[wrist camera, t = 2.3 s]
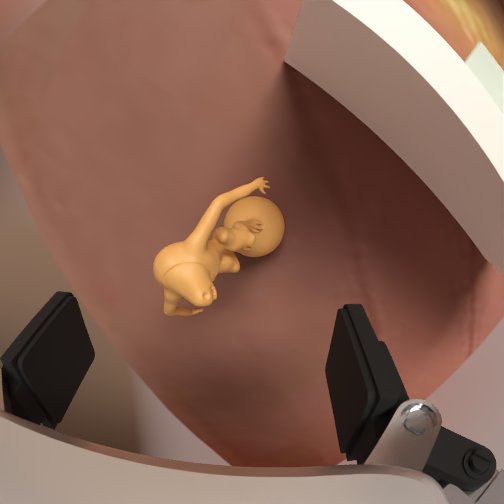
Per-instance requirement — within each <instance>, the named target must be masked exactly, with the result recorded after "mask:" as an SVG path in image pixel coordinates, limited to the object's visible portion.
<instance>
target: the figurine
mask: <svg viewBox="0 0 504 504" xmlns="http://www.w3.org/2000/svg"><path fill="white" fill-rule="evenodd" d="M264 178H265V177H261V178H257V179H256V180H254V181H253V182H252V183H250V184H247V185H243V186H241V187H238V188H236V189H234V190H232V191H230V192H227V193H223V194H221V195H219V196H218V197H216V198H215V199H214V200H213V202H212V203H211V204H210V206H209V207H208V209H207V210H206V212H205V213H204V215H203V217H202V218H201V220H200V221H199V223H198V225H197V227H196V228H195V230H194V231H193V232H192V233H191V234H190V236H189V237H188V238H187V239H186V240H185V241H182V242H177V243H173V244H170V245H168V246H166V247H165V248H163V249H162V250H161V251H160V252H159V253H158V255H157V256H156V258H155V260H154V265H153V271H154V276H155V278H156V280H157V281H158V282H159V283H160V284H161V285H162V286H163V287H164V295H165V301H164V312H165V314H166V315H169V316H173V315H180V316H190V315H194V314H196V313H199V312H201V311H203V310H204V309H196V308H194V309H192V310H189V309H187V308H184V307H177V305H178V302H179V300H180V299H182V298H185V299H187V300H188V301H189V302H190V303H192V304H193V305H195V306H200V307H206V306H209V305H211V304H212V301H214V300H215V299H216V298H217V292H216V289H215V287H214V285H213V282H214V280H215V278H216V276H217V274H218V273H227V272H232V273H236V272H238V271H239V269H240V264H239V261H238V259H237V258H236V256H235V254H234V252H236V251H237V252H238V253H240V254H242V255H245V256H249V257H260V256H264V255H266V254H268V253H270V252H272V251H273V250H274V249H275V248H276V247H277V246H278V245H279V243H280V242H281V240H282V238H283V235H284V229H285V224H284V218H283V215H282V213H281V211H280V210H279V208H278V207H277V206H276V205H275V204H274V203H273V202H271V201H270V200H268V199H266V198H263V197H259V196H249V197H246V196H248V195H249V194H251V193H252V192H253V191H255V190H256V189H258V190H260V192H262V193H263V194H266V192H265V191H264V190H263V188H270V187H269V186H266V185H265V183H269V182H268V181H264V180H263V179H264ZM244 197H245V198H244ZM239 199H240V200H239ZM237 200H238V201H237ZM235 201H237V202H235ZM233 202H235V203H234V204H233V205H232V206H231V207H230V209H229V210H228V212H227V214H226V216H225V219H224V227H219V228H217V229H216V230H215V232H214V234H213V239H212V240H210V241H208V239H209V237H210V235H211V233H212V231H213V229H214V228H215V226H216V223H217V221H218V219H219V217H220V215H221V213H222V210H223V209H224V208H225V207H227V206H229V205H230V204H232V203H233ZM207 241H208V242H207ZM195 309H196V310H195Z"/></svg>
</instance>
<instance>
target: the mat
mask: <svg viewBox="0 0 504 504" xmlns="http://www.w3.org/2000/svg"><path fill="white" fill-rule="evenodd" d="M464 62H465V64H466V65H467V66H468V67H469V69H470V70H471V71H472V72H473V73H474V75H475V76H476V77H477V79H478V80H479V81H480V82H481V84H482V85H483V86H484V88H485V89H486V90H487V92H488V93H489V95H490V96H491V97H492V99H493V100H494V102H495V103H496V105H497V106H498V107H499V109H500V110H501V112H502V113H503V115H504V71H503V70H502V68H501V67H500V66H499V64H498V63H497V62H496V60H495V59H494V58H493V56H492V55H491V54H490V52H489V51H488V50H487V48H486V47H485V46H484V45H483V43H482V42H481V41H479V42H477V44H476V45H475V47H474V48H473V50H472V51H471V53H470V54H469V55H468V57H467V58H466V60H465V61H464Z"/></svg>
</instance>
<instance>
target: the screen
mask: <svg viewBox="0 0 504 504" xmlns="http://www.w3.org/2000/svg"><path fill="white" fill-rule="evenodd" d="M284 61H285V62H286V63H288V64H289V65H290V66H292V67H293V68H295V69H296V70H298V71H299V72H300V73H302V74H303V75H304V76H306V77H307V78H309V79H310V80H311V81H313V82H314V83H315V84H317V85H318V86H319V87H321V88H322V89H323V90H324V91H326V92H327V93H328V94H330V95H331V96H332V97H333V98H335V99H336V100H337V101H338V102H339V103H341V104H342V105H343V106H344V107H346V108H347V109H348V110H349V111H350V112H351V113H353V114H354V115H355V116H356V117H357V118H358V119H360V120H361V121H362V122H363V123H364V124H365V125H366V126H368V127H369V128H370V129H371V130H372V131H373V132H374V133H375V134H376V135H377V136H378V137H380V138H381V139H382V140H383V141H384V142H385V143H386V144H387V145H388V146H389V147H390V148H391V149H392V150H393V151H394V152H395V153H396V154H397V155H398V156H399V157H400V158H401V159H402V160H403V161H404V162H405V163H406V164H407V165H408V166H409V167H410V168H411V169H412V170H413V171H414V172H415V173H416V174H417V175H418V177H419V178H420V179H421V180H422V181H423V182H424V183H425V184H426V185H427V186H428V187H429V189H430V190H431V191H432V192H433V193H434V194H435V195H436V197H437V198H438V199H439V200H440V201H441V202H442V204H443V205H444V206H445V207H446V208H447V209H448V211H449V212H450V213H451V214H452V216H453V217H454V218H455V219H456V221H457V222H458V223H459V224H460V226H461V227H462V228H463V229H464V231H465V232H466V233H467V235H468V236H469V237H470V239H471V240H472V241H473V243H474V244H475V245H476V247H477V248H478V250H479V251H480V252H481V254H482V255H483V257H484V258H485V259H486V260H487V261H488V262H489V263H491V264H492V265H493V266H494V267H495V268H496V269H497V270H498V271H499V272H501V273H502V274H503V275H504V115H503V113H502V112H501V110H500V109H499V107H498V106H497V105H496V103H495V102H494V100H493V99H492V97H491V96H490V95H489V93H488V92H487V90H486V89H485V88H484V86H483V85H482V84H481V82H480V81H479V80H478V79H477V77H476V76H475V75H474V73H473V72H472V71H471V70H470V69H469V67H468V66H467V65H466V64H465V62H464V61H463V60H462V59H461V58H460V57H459V56H458V54H457V53H456V52H455V51H454V50H453V49H452V48H451V47H450V45H449V44H448V43H447V42H446V41H445V40H444V39H443V38H442V37H441V36H440V35H439V34H438V33H437V32H436V31H435V30H434V29H433V28H432V27H431V26H430V25H429V24H428V23H427V22H426V21H425V20H424V19H423V18H422V17H421V16H420V15H419V14H418V13H416V12H415V11H414V10H413V9H412V8H411V7H410V6H409V5H407V4H406V3H405V2H404V1H403V0H304V1H303V4H302V7H301V10H300V13H299V16H298V19H297V22H296V25H295V28H294V31H293V34H292V37H291V40H290V43H289V46H288V49H287V52H286V55H285V58H284Z"/></svg>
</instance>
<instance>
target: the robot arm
mask: <svg viewBox="0 0 504 504" xmlns="http://www.w3.org/2000/svg"><path fill="white" fill-rule="evenodd" d="M94 357H95V352H94V348H93V346H92V343H91V341H90V338H89V335H88V332H87V329H86V326H85V323H84V320H83V318H82V314H81V311H80V308H79V305H78V301H77V299H76V298H75V297H74V296H73V294H72V293H70V292H60V291H59V292H56V294H54V295H53V297H52V298H51V299H50V300H49V301H48V302H47V303H46V304H45V305H44V307H43V308H42V309H41V310H40V311H39V312H38V313H37V314H36V316H35V317H34V318H33V319H32V320H31V321H30V322H29V324H28V325H27V326H26V327H25V328H24V330H23V331H22V332H21V333H20V334H19V336H18V337H17V338H16V339H15V341H14V342H13V343H12V344H11V345H10V347H9V348H8V349H7V350H6V352H5V353H4V354H3V355H2V357H1V358H0V359H1V361H2V363H3V367H2V368H1V366H0V504H504V470H503V469H501V470H500V471H498V470H497V469H496V459H495V457H494V455H493V453H492V452H491V451H490V450H489V449H488V448H486V447H484V446H482V445H480V444H478V443H476V442H474V441H472V440H469V439H467V438H465V437H463V436H461V435H459V434H457V433H454V432H452V431H450V430H448V429H446V428H444V427H442V426H441V424H442V419H441V414H440V413H439V411H438V409H437V408H436V407H435V406H434V405H433V404H431V403H429V402H427V401H424V400H421V399H412V400H409V397H408V395H407V392H406V390H405V387H404V385H403V383H402V380H401V378H400V376H399V373H398V371H397V369H396V366H395V364H394V362H393V359H392V357H391V355H390V353H389V350H388V348H387V346H386V344H385V343H384V342H383V341H378V339H377V337H376V335H375V333H374V330H373V328H372V326H371V324H370V321H369V319H368V317H367V315H366V313H365V310H364V308H363V306H362V305H361V304H345V305H344V306H343V309H338V312H337V316H336V321H335V326H334V331H333V336H332V340H331V345H330V349H329V354H328V358H327V362H326V369H325V372H326V379H327V384H328V389H329V394H330V399H331V404H332V409H333V414H334V420H335V425H336V430H337V436H338V442H339V447H340V451H341V453H346V457H347V461H352V460H357V465H336V466H315V467H238V466H222V465H210V464H199V463H191V462H183V461H176V460H169V459H163V458H157V457H151V456H146V455H140V454H136V453H131V452H127V451H122V450H118V449H113V448H110V447H106V446H102V445H98V444H95V443H91V442H88V441H84V440H81V439H78V438H75V437H71V436H68V435H65V434H62V433H59V432H56V431H54V430H51V429H55V428H56V426H57V423H60V422H61V421H62V419H63V417H64V415H65V413H66V411H67V409H68V407H69V405H70V403H71V401H72V399H73V397H74V395H75V393H76V391H77V389H78V388H79V386H80V384H81V382H82V380H83V378H84V376H85V374H86V373H87V371H88V369H89V367H90V365H91V364H92V362H93V360H94ZM40 423H42V424H43V425H44V426H46V427H49V428H51V429H48V428H45V427H43V426H40Z"/></svg>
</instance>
